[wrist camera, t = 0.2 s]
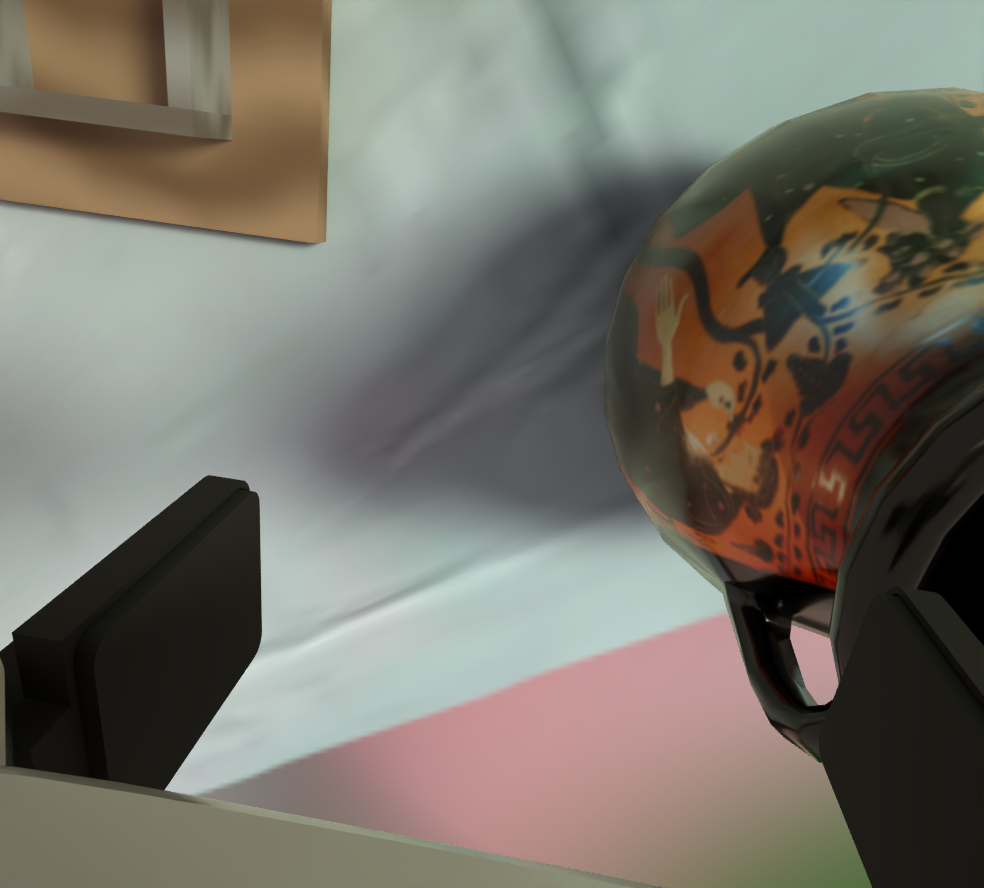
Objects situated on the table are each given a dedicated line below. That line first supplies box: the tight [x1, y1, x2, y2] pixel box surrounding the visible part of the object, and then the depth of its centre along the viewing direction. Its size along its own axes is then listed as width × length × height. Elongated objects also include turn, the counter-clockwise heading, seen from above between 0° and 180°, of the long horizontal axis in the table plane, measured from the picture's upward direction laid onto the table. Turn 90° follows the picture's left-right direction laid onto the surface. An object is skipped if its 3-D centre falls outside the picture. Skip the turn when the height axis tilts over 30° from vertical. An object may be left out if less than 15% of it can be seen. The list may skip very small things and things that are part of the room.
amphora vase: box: [604, 88, 984, 764], centre depth 26 cm, size 22×22×28 cm
